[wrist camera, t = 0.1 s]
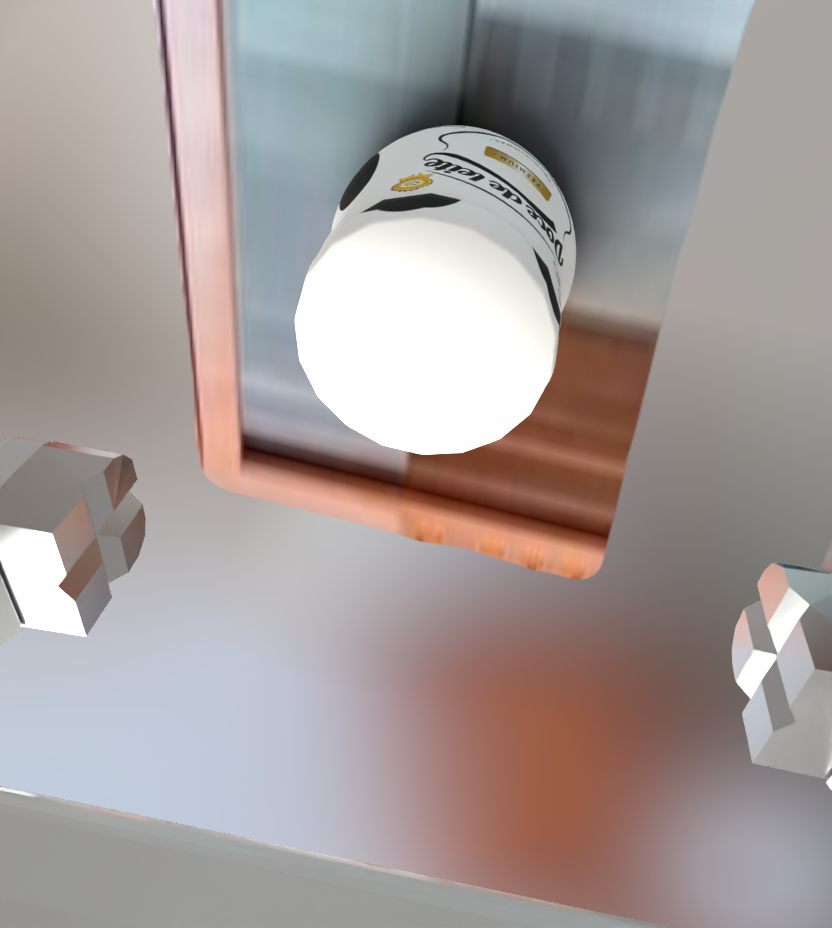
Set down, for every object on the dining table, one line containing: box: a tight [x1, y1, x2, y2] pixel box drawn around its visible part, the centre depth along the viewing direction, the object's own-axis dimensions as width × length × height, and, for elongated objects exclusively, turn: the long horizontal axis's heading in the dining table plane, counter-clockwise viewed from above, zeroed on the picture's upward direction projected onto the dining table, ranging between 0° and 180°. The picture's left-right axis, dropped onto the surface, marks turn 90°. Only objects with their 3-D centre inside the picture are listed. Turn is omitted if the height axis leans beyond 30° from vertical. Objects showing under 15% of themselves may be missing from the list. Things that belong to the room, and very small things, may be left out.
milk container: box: [295, 125, 576, 455], centre depth 49 cm, size 17×17×18 cm
